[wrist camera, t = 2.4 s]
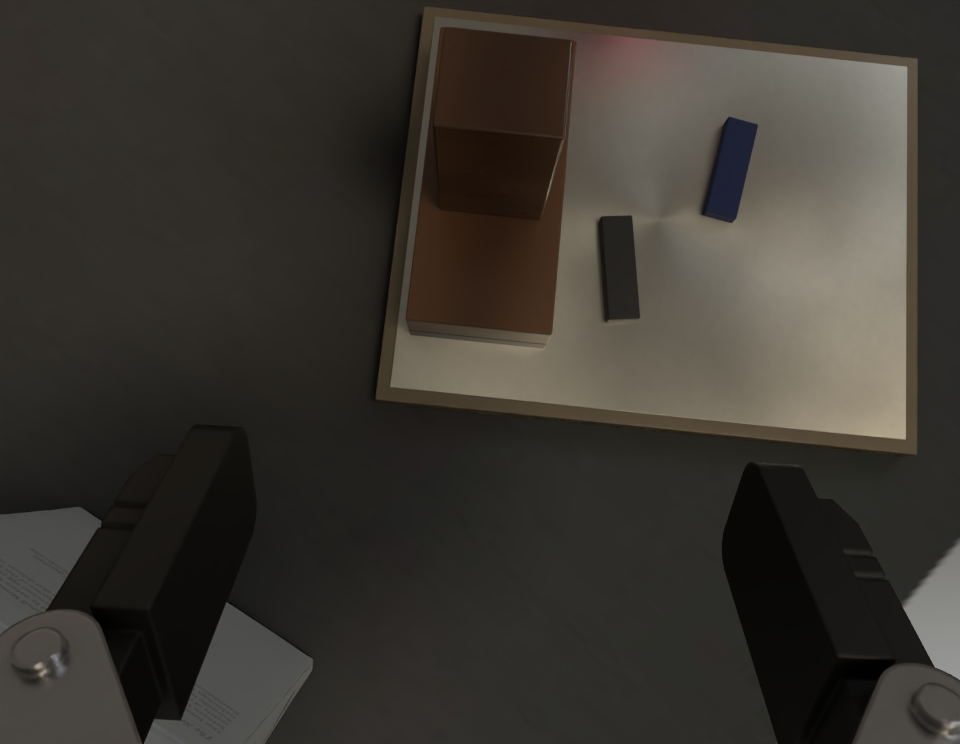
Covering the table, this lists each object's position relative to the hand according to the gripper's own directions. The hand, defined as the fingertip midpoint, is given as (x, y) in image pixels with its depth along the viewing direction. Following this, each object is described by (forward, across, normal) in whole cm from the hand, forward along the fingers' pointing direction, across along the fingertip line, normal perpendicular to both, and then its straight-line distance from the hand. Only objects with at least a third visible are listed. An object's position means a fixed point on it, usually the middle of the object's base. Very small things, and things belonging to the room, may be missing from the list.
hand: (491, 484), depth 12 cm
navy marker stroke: (+20, -9, +1) cm, 22 cm away
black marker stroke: (+17, -5, +4) cm, 18 cm away
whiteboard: (+19, -6, +3) cm, 20 cm away
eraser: (+18, 0, +2) cm, 19 cm away
